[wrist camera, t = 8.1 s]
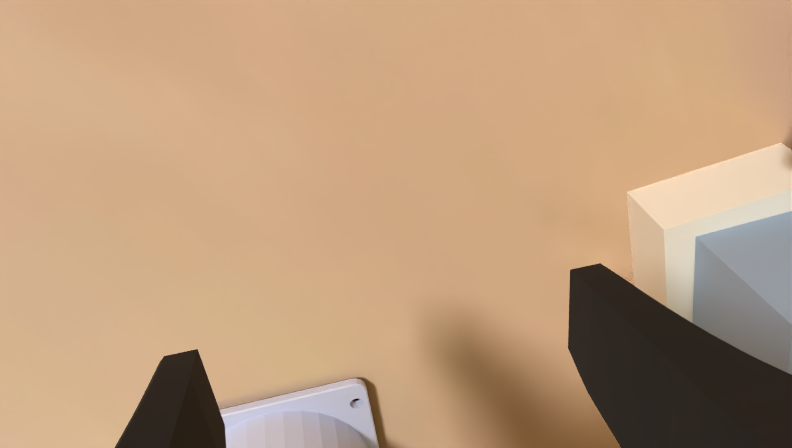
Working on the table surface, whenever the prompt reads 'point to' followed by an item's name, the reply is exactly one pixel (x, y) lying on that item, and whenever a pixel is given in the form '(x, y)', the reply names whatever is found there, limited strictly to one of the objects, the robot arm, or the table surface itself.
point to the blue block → (747, 288)
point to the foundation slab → (700, 217)
